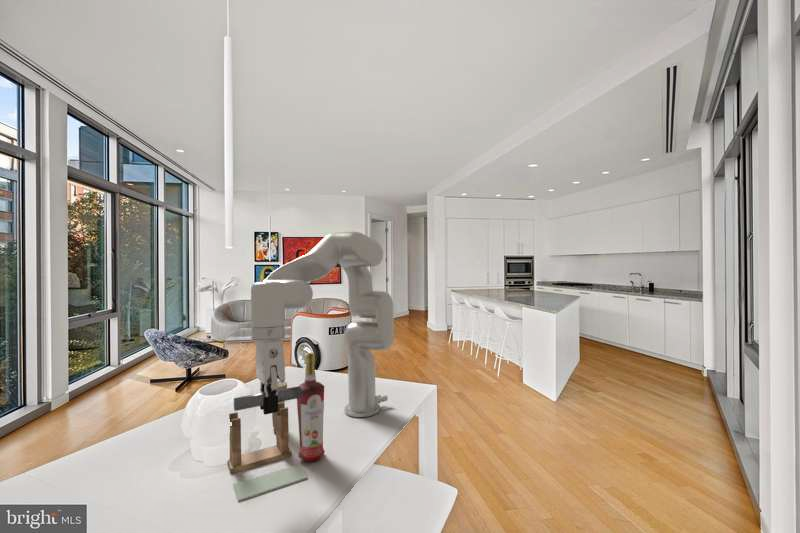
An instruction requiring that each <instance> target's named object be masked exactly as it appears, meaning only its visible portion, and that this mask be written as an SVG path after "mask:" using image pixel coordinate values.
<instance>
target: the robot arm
mask: <svg viewBox="0 0 800 533" xmlns="http://www.w3.org/2000/svg"><path fill="white" fill-rule="evenodd" d="M383 259H384V250H383V247H382V246H381V244H380V243H379V242H378V241H377V240H376V239H373V238H372V237H369V236H367V235H366V234H363V233H362V232H358V231H342V232H332V233H329V234H327V235H325V236H324V237H323V238H322V239H321V240H320V241H319V242H318V243H317V244H316V245H315V246H314V247H313V248H311V249H310V251H308V252H307V253H306V254H305V255H302V256H299V257H297V258H296V259H294V260H292V261H290V262H287V263H285V264H283V265H281V266H280V267H278V268H277V269H275V270H274V271H272V272H271V273H269V275H268V276H267V277H265V278H264V280H263V281H257V282H256V281H255V282H254V283H253V284H251V288H250V317H251V318H250V319H251V320H250V322H251V324H250V325H251V327H250V328H251V331H250V333H251V334H250V335H251V337H250V338H251V342H254V343H255V373H256V377H257V379H258V380H259V383H260V386H259V390H260V393H265V397H263V405H262V406H259V407H260V410H262V412H263V415H269V414H272V413H275V412H278V381H281V382H286V369H285V368H286V366H285V351H284V344H283V343H284V342H283V341H284V340H285V338H286V335H285V332H286V329H285V328H286V325H285V324H286V323H285V322H286V321H285V320H286V319H285V318H286V317H285V312H286V310H300V309H304V308H305V307H307V306H308V305H310V303H311V302H312V300H313V295H314V291H313V289H312V286H311V285H310V284H309V283H311V282H314V281H317V280H318V281H319V280H321V279H324V278H325V277H327V276H328V275H329V274H330V273H331V272H332V271H333V270H334V269H335V267H337V265H338V264H339V265H340V267H341V268H342V270H344V272H345V274H346V277H347V281H348V282H347V283H348V311H349V314H350V315H351V316H352V317H354V318H359V319H375V320H376V321H359V320H358V321H353V322H350V323H349V324H348V325H347V326H346V327H345V330H344V342H345V345H346V352H347V366H348V367H347V370H348V371H347V374H348V375H347V376H348V377H347V379H348V382H347V384H348V404H347V405H346V406H344V414H345V415H347V416H349V417H351V418H352V417H353V418H367V417H371V416H374V415H377V414H378V413H379V412H380V411H381V405H380V404H381V403H383V402H387V401H388V395H381V394H377V395H376V359H375V357H374V354H373V353H372V350H373V351H374V350H375V351H387V350H389V349H391V348H392V346H393V343H394V336H395V328H394V324H395V322H394V321H395V320H394V302H393V298H392V296H391V294H389V293H388V292H387V291H381V290H380V291H379V290H378V291H377V290H374V289H373V275H372V273H371V272H370V270H369V267H370V268H371V267H377V266H379V265H380V264H381V262H382V261H383Z"/></svg>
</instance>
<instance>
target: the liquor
mask: <svg viewBox="0 0 800 533" xmlns="http://www.w3.org/2000/svg"><path fill="white" fill-rule="evenodd" d="M304 362H305V371H304V372H305V374H304V382H302V383H301V384H299V385H298V386H300V387H301V391H302V396H301V398H297V399H296V405H297V406H296V407H297V408H296V409H297V421H298V435H299V452H298V454H297V456H298V458H299V459H301V460H302V461H303V462H305V463H314V462H317V461H319V460H320V459H321V458H322V457H323V455H324V454H325V449H324V412H325V411H324V409H325V385H324V384H322V383H321V382H320V381H317V377H316V371H315V370H316V368H315V362H316V352H305V353H304Z"/></svg>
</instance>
